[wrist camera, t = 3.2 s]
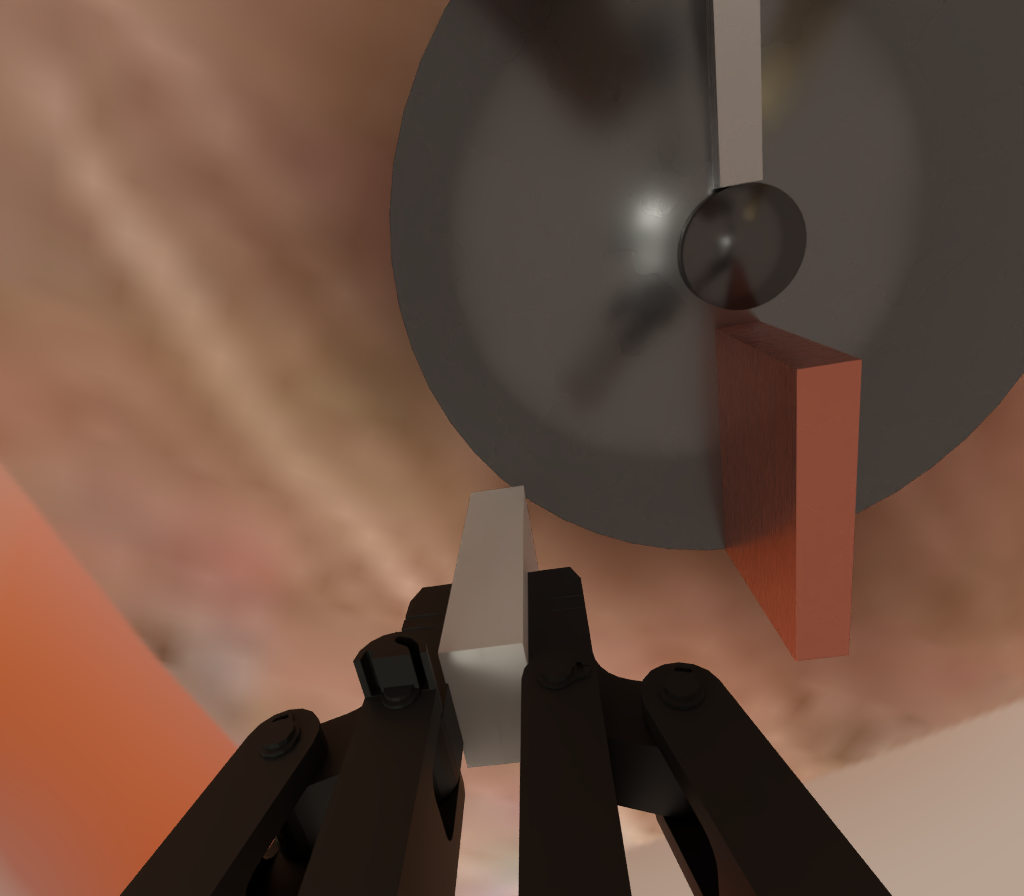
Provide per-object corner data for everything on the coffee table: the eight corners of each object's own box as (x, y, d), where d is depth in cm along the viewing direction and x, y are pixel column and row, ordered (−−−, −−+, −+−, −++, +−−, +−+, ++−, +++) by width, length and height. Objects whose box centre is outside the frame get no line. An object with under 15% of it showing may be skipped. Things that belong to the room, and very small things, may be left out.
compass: (331, -65, 14) (167, -316, 8) (1096, -242, 13) (1684, -730, 6) (469, 552, 21) (444, 702, 14) (997, 479, 19) (1243, 608, 13)
